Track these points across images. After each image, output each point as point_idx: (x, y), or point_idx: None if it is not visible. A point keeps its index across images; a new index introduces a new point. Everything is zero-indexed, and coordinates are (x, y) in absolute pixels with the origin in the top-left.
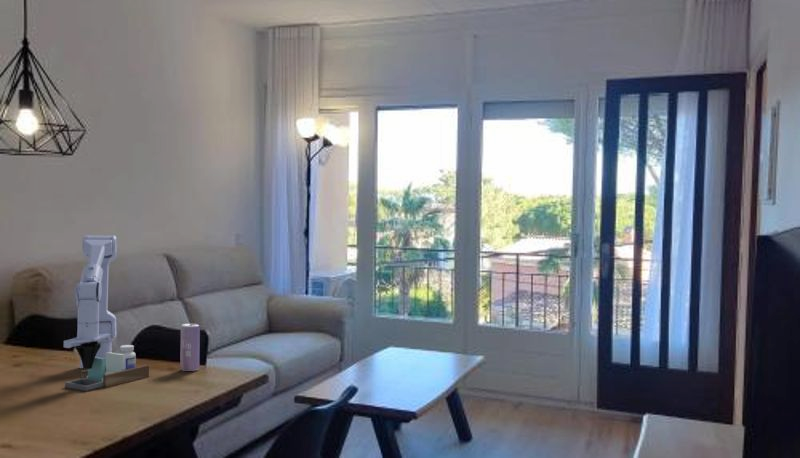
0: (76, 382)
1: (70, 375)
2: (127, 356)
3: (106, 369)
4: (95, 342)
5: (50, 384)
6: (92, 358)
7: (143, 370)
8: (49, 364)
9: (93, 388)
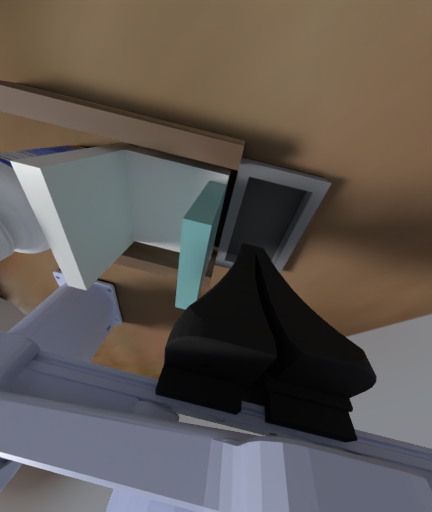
0: None
1: (169, 310)
2: (10, 179)
3: (129, 243)
4: (186, 385)
5: None
6: (252, 270)
7: (10, 85)
8: (136, 356)
9: (289, 170)
